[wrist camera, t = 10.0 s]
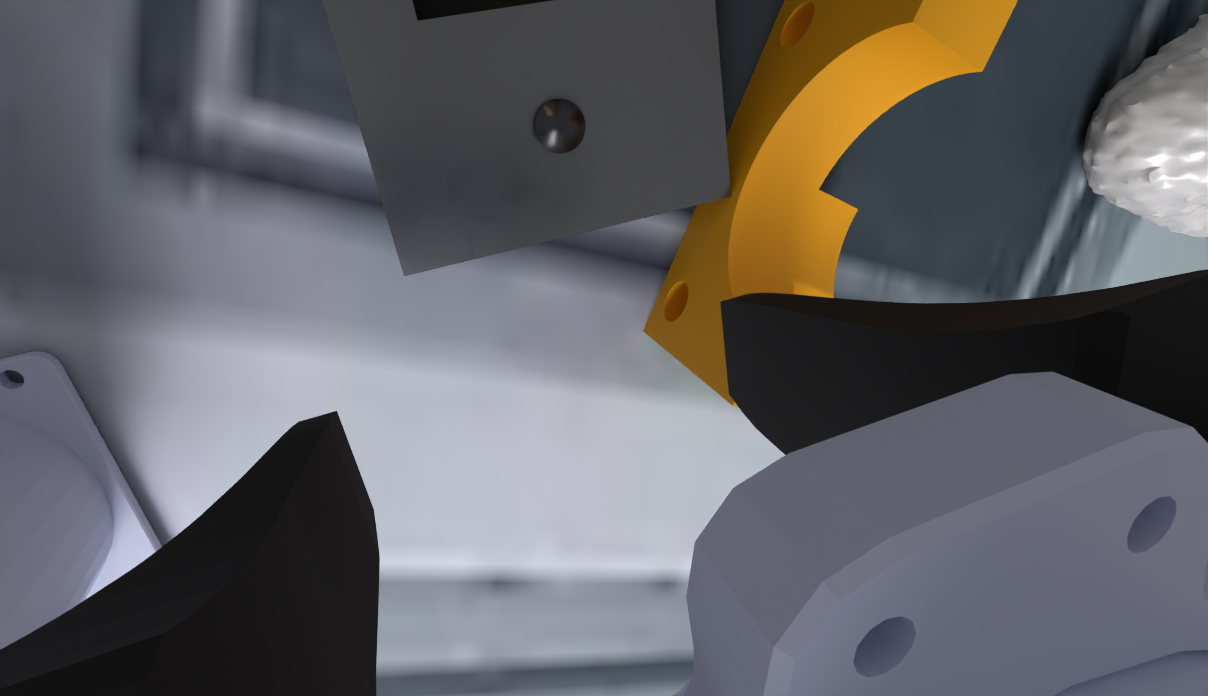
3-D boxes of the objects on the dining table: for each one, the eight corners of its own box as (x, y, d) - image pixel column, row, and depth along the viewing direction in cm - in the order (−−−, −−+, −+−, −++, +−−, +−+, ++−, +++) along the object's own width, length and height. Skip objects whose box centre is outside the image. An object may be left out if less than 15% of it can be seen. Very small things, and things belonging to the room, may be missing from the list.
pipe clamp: (737, 361, 25) (849, 439, 19) (641, 329, 23) (732, 405, 17) (884, 45, 22) (1063, 26, 17) (789, -19, 21) (953, -65, 15)
